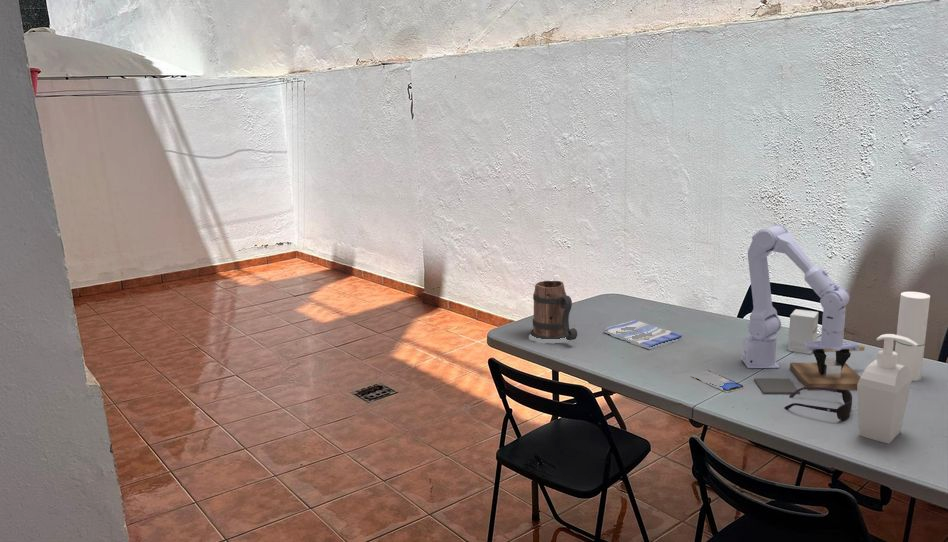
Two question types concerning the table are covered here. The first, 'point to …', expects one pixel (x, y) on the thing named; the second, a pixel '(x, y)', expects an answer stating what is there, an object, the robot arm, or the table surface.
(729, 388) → the smartphone
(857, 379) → the wooden base
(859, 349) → the lever
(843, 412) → the sunglasses
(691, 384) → the table surface
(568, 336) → the tankard
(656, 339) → the dish towel
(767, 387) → the rubber mat
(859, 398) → the soap bottle
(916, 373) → the cylindrical container
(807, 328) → the supplement box
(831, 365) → the grey block
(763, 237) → the robot arm
